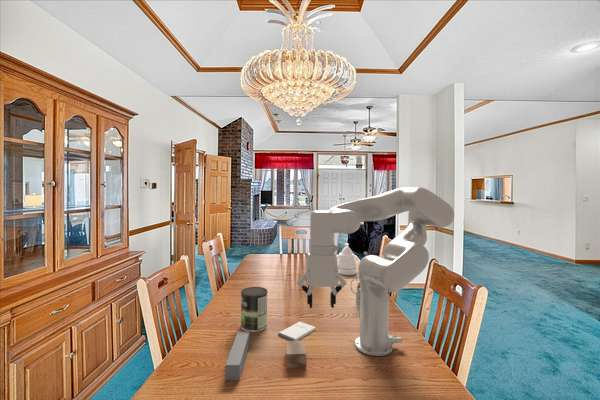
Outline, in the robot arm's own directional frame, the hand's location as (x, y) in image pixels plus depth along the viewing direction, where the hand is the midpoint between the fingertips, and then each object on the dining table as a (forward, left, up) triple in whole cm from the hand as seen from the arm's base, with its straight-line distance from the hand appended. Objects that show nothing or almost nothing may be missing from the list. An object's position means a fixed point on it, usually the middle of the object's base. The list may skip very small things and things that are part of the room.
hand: (321, 305), depth 98 cm
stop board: (+26, 0, -18) cm, 31 cm away
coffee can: (+24, -24, -18) cm, 38 cm away
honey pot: (-26, -101, -18) cm, 106 cm away
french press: (-24, -46, -18) cm, 55 cm away
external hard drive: (+7, -19, -18) cm, 27 cm away
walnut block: (+8, 0, -18) cm, 20 cm away
